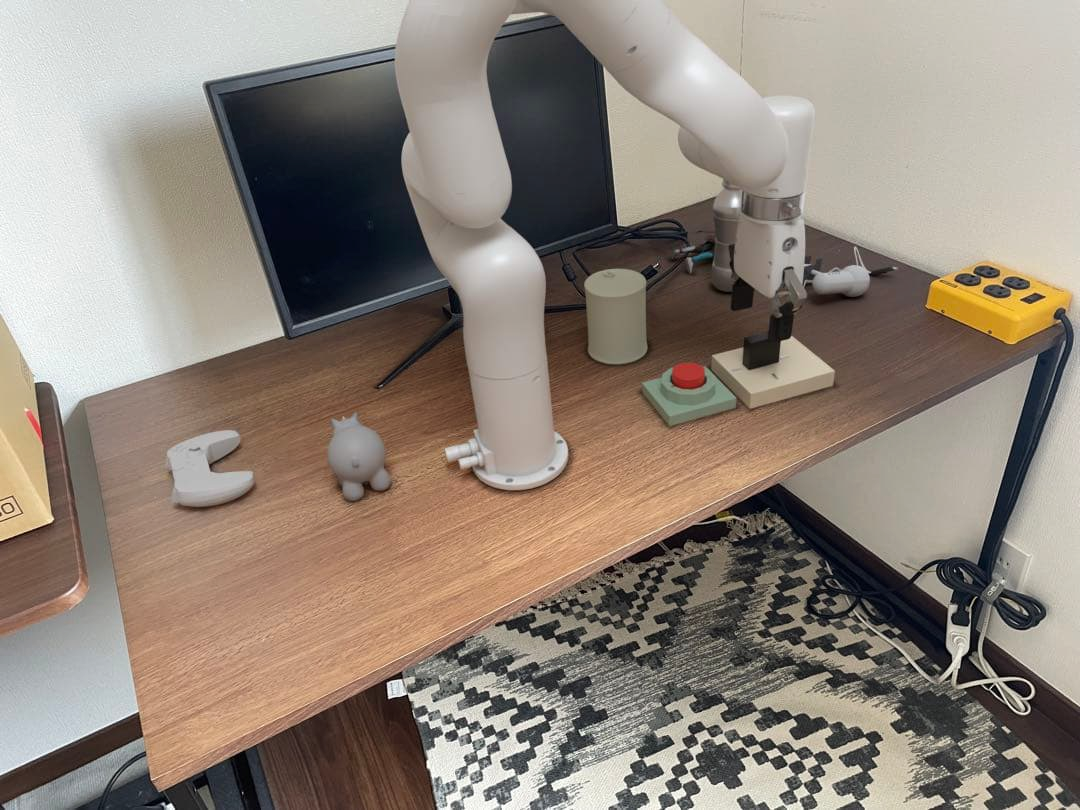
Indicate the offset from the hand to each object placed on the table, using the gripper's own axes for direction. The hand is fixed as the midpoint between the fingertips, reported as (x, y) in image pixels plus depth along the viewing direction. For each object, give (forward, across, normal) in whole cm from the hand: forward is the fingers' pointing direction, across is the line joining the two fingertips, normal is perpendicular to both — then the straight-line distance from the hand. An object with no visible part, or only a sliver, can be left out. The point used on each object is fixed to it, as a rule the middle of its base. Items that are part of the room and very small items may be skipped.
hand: (759, 323), depth 110 cm
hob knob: (+7, 0, -1) cm, 7 cm away
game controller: (+12, +10, +75) cm, 76 cm away
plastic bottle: (+9, +27, -11) cm, 30 cm away
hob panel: (+9, 0, -2) cm, 9 cm away
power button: (+6, 0, +11) cm, 12 cm away
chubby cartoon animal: (+11, +3, +56) cm, 57 cm away
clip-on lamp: (+8, +19, -27) cm, 34 cm away
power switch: (+10, 0, +10) cm, 14 cm away
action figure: (+9, +39, -16) cm, 43 cm away
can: (+10, +17, +14) cm, 24 cm away
